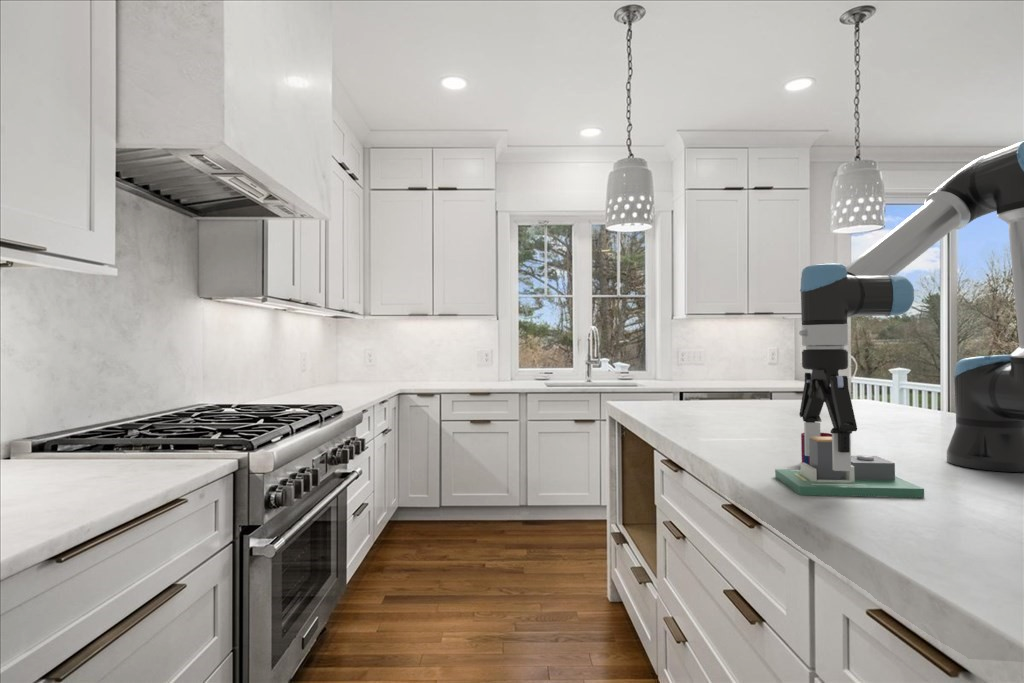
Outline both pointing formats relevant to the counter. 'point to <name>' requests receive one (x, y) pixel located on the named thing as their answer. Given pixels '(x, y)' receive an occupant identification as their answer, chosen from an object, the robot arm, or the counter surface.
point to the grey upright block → (823, 458)
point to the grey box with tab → (872, 468)
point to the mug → (804, 458)
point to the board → (845, 484)
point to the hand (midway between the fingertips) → (826, 462)
